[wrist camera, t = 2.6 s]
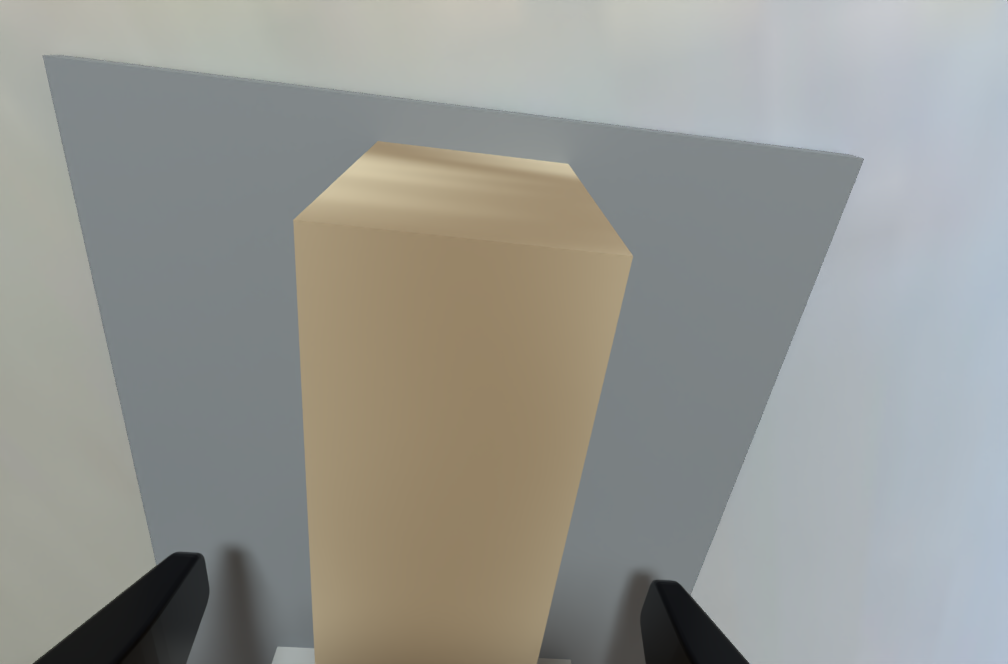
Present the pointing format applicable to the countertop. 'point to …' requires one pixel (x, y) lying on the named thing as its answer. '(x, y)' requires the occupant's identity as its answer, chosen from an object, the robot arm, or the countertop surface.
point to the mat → (275, 332)
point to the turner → (447, 399)
